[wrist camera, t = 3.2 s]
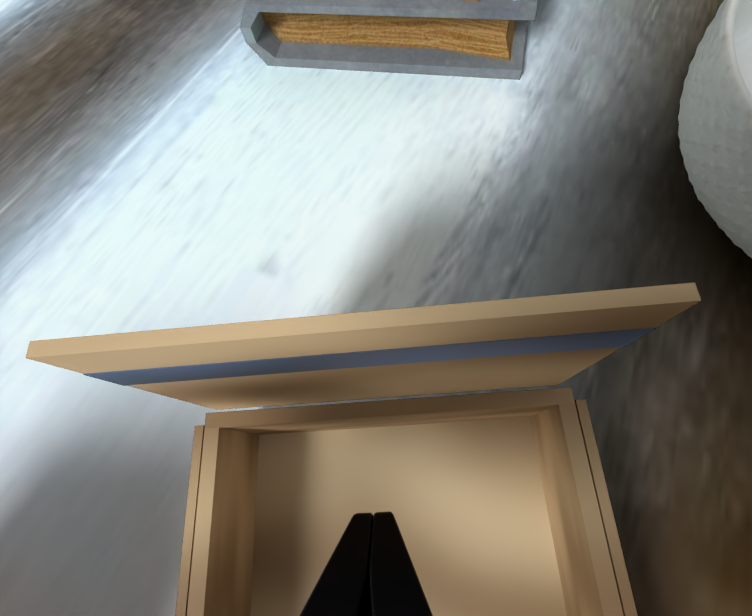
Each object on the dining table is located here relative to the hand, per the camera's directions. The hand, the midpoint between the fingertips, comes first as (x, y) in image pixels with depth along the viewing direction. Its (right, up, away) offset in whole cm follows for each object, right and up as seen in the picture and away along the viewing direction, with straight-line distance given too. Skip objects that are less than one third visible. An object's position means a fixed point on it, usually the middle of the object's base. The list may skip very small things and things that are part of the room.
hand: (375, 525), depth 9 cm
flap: (0, +3, +1) cm, 3 cm away
